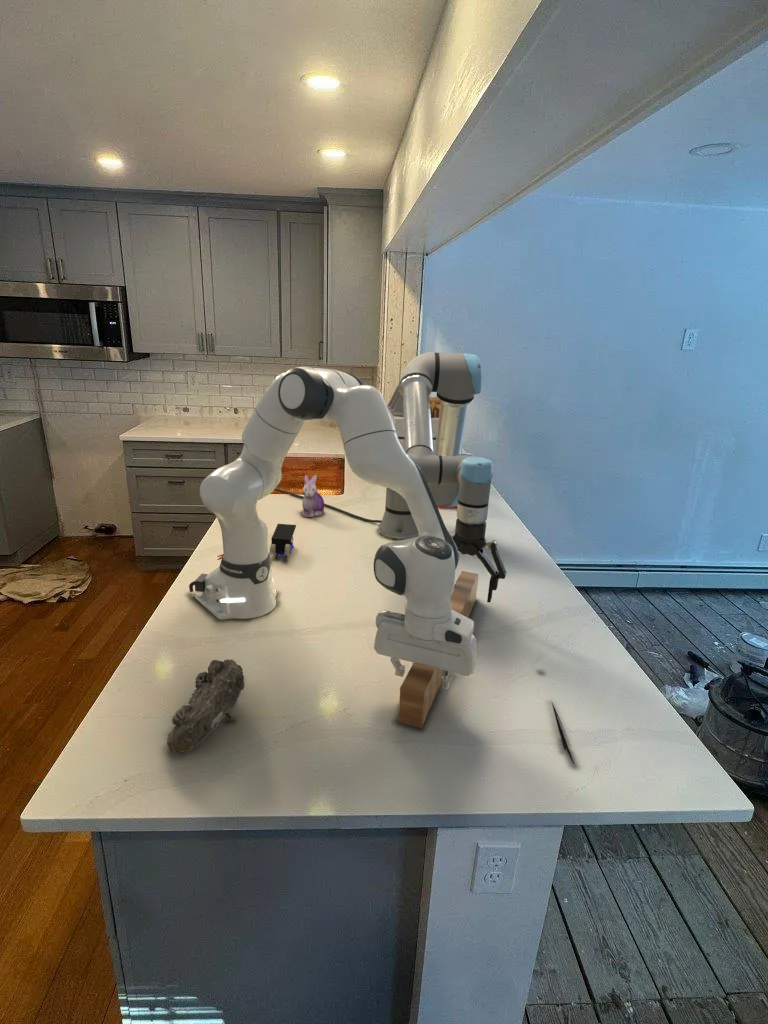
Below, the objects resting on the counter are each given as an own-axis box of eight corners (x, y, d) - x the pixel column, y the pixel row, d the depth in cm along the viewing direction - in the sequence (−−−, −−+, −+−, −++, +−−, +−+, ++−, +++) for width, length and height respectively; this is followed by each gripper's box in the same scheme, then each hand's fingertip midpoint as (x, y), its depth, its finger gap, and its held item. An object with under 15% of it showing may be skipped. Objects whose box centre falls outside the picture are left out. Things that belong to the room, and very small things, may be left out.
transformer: (382, 463, 289) (386, 382, 275) (445, 464, 293) (451, 384, 279) (390, 482, 257) (394, 392, 243) (460, 483, 261) (468, 394, 247)
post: (459, 596, 158) (461, 570, 155) (475, 600, 156) (478, 573, 154) (398, 721, 109) (400, 687, 106) (421, 728, 108) (424, 693, 105)
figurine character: (291, 566, 174) (297, 542, 188) (290, 545, 171) (296, 522, 184) (269, 566, 174) (276, 541, 187) (268, 544, 171) (275, 521, 184)
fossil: (192, 660, 117) (244, 628, 112) (224, 691, 120) (276, 661, 115) (142, 746, 98) (202, 712, 93) (182, 779, 101) (242, 748, 96)
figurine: (305, 519, 209) (305, 480, 204) (296, 510, 217) (296, 472, 212) (329, 516, 213) (330, 478, 208) (319, 507, 222) (319, 470, 216)
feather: (541, 676, 126) (546, 670, 126) (574, 768, 100) (581, 761, 99) (535, 672, 126) (540, 666, 126) (566, 764, 100) (573, 756, 99)
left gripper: (370, 616, 109) (368, 676, 114) (476, 640, 103) (468, 702, 108) (382, 601, 115) (378, 659, 119) (482, 623, 109) (474, 683, 113)
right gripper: (419, 516, 142) (414, 591, 149) (520, 533, 134) (509, 611, 142) (427, 507, 149) (421, 579, 156) (523, 522, 141) (513, 597, 149)
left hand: (422, 680), depth 113 cm, fingers open, 8 cm apart
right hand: (463, 595), depth 149 cm, fingers open, 13 cm apart
